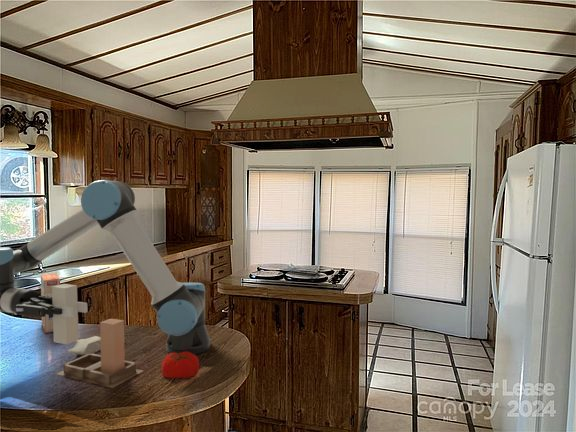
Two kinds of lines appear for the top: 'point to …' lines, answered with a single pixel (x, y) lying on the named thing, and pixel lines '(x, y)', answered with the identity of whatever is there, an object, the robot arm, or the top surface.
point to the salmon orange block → (112, 345)
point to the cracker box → (46, 291)
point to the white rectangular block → (62, 325)
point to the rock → (87, 346)
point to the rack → (97, 371)
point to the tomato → (180, 365)
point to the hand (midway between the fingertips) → (79, 310)
